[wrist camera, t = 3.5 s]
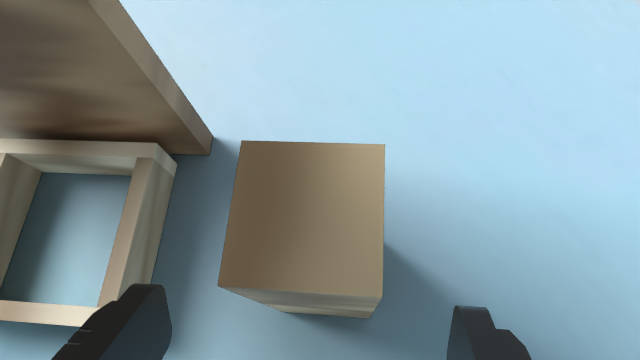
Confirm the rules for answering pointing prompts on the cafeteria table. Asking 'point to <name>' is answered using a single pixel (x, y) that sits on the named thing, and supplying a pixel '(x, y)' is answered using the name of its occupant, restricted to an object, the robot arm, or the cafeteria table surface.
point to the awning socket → (88, 130)
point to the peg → (307, 227)
